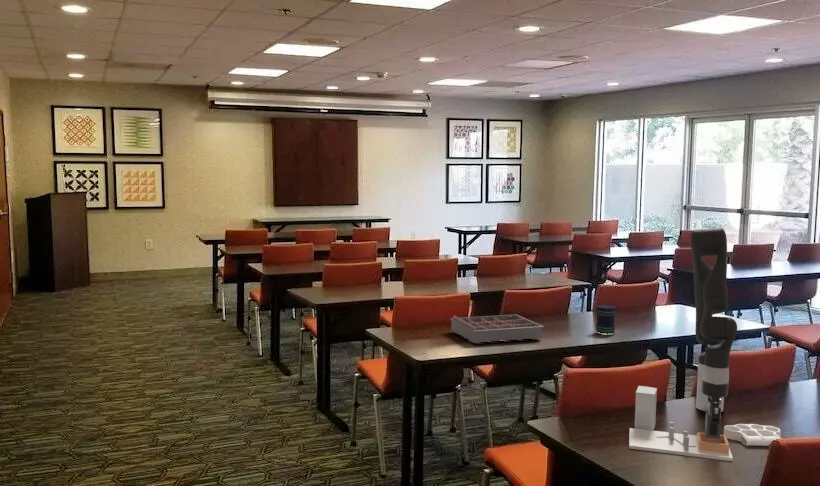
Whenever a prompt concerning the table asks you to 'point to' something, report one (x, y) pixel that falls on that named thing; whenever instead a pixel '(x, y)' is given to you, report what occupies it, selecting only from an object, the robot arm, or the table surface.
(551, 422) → the table surface
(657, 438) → the board
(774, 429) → the white brass knuckles
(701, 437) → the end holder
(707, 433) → the dark grey block
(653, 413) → the small box
